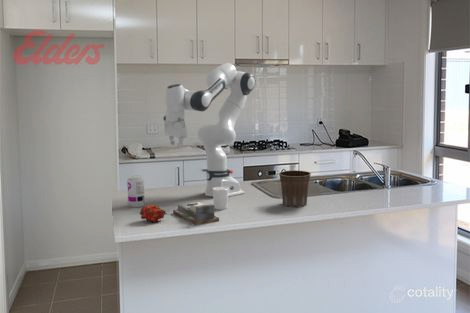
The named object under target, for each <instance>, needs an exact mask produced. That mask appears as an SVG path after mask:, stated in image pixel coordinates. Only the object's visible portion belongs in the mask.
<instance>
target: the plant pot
mask: <svg viewBox="0 0 470 313" xmlns="http://www.w3.org/2000/svg"><path fill="white" fill-rule="evenodd" d="M311 175H312V173H311V172H310V171H305V170H295V169H294V170H284V171H280V172H278V176H279V182H280V186H281V187H280V188H281V197H282V198H281V199H282V205H283V204H284V205H283V206H285V205H287V206H286V207H290V206H294V207H297V206H302V207H304V205H305V206H306V205H307V204H308V196H309V194H308V193H309V185H310V184H309V182H310V179H311Z"/></svg>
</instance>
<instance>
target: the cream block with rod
mask: <svg viewBox="0 0 470 313" xmlns="http://www.w3.org/2000/svg"><path fill="white" fill-rule="evenodd" d="M203 205H206V204H205V203H203V202H199V201H197V202H190V203H188V204H186V206H187V207H188V206H189V208H190V210H191V211H193V212H195V213H196V206H203Z"/></svg>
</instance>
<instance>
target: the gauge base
mask: <svg viewBox="0 0 470 313" xmlns="http://www.w3.org/2000/svg"><path fill="white" fill-rule="evenodd" d="M172 213H173V215H176V216H177V217H179V218H181V219H183V220H184V221H187V222H188V223H190V224H191V225H193V226H198V225H205V224H210V223H217V222H220V217H218V216H216V215H215V208H214V203H212V204H211V203H210V204H205V205H203V206H196V213H195V212H193V211H191V210H190V207H185V206H183V205H182V204H177V209H174V210H172Z"/></svg>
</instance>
